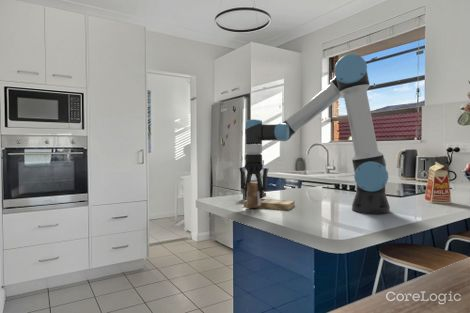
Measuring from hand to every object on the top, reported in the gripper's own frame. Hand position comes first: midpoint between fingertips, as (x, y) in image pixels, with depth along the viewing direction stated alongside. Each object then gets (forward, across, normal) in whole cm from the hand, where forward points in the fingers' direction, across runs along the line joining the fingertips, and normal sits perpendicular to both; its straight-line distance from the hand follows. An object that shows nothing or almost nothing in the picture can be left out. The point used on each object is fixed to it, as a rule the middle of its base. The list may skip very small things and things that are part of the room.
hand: (253, 204), depth 147 cm
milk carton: (+2, -79, -51) cm, 94 cm away
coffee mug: (+2, +9, -21) cm, 23 cm away
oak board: (+2, -5, -8) cm, 9 cm away
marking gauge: (+1, 0, -5) cm, 6 cm away
